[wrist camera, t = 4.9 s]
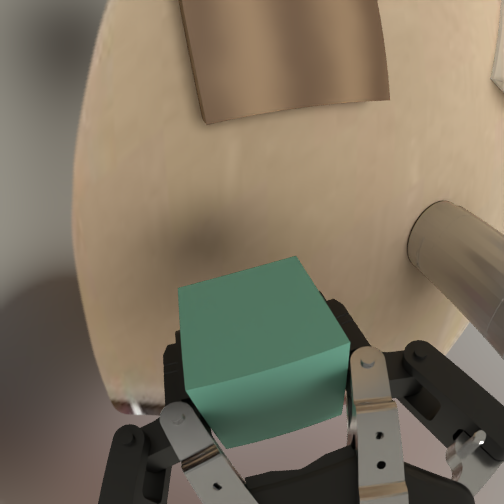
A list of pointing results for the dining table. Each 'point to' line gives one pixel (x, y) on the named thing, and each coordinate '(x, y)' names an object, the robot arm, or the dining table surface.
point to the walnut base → (283, 54)
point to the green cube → (262, 352)
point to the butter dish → (499, 54)
